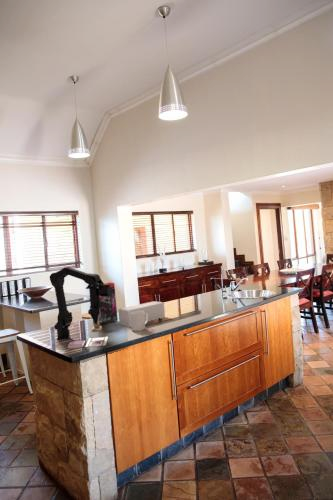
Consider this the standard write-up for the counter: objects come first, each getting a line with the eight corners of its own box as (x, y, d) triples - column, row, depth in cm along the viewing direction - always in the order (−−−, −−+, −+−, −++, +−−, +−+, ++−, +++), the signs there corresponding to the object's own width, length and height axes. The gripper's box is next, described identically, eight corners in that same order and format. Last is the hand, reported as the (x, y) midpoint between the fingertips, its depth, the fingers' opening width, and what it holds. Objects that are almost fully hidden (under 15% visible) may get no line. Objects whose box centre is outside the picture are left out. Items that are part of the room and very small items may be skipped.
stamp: (92, 331, 212) (90, 314, 212) (93, 329, 217) (92, 312, 217) (101, 331, 213) (99, 313, 212) (101, 329, 218) (100, 311, 217)
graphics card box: (98, 326, 249) (95, 285, 248) (92, 325, 254) (89, 285, 253) (118, 321, 262) (115, 282, 261) (111, 320, 266) (109, 282, 266)
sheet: (84, 347, 201) (84, 346, 201) (89, 338, 219) (89, 337, 219) (105, 345, 202) (105, 344, 202) (108, 336, 220) (108, 336, 220)
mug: (136, 332, 225) (135, 314, 225) (128, 330, 232) (127, 312, 232) (152, 328, 233) (151, 310, 233) (143, 326, 240) (142, 309, 240)
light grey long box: (155, 315, 272) (154, 301, 272) (165, 317, 265) (164, 302, 264) (119, 324, 250) (118, 309, 250) (129, 327, 243) (128, 310, 242)
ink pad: (68, 348, 200) (67, 345, 200) (71, 343, 209) (70, 341, 209) (83, 347, 201) (82, 344, 201) (85, 342, 210) (85, 340, 210)
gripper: (107, 297, 205) (109, 326, 206) (110, 293, 224) (111, 318, 225) (87, 299, 205) (89, 327, 205) (91, 294, 223) (93, 320, 224)
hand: (96, 323), depth 215 cm, fingers closed on stamp, 4 cm apart
